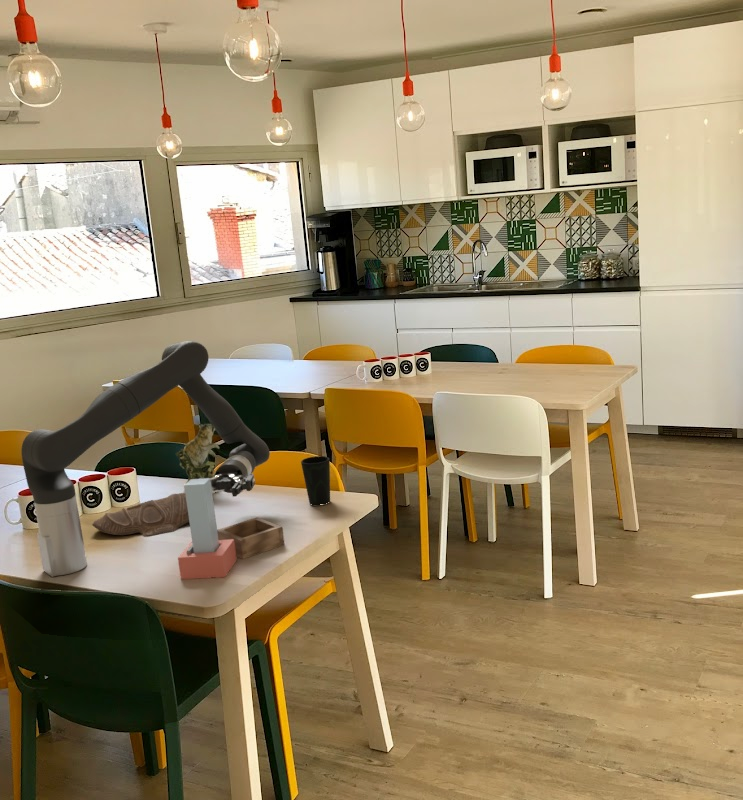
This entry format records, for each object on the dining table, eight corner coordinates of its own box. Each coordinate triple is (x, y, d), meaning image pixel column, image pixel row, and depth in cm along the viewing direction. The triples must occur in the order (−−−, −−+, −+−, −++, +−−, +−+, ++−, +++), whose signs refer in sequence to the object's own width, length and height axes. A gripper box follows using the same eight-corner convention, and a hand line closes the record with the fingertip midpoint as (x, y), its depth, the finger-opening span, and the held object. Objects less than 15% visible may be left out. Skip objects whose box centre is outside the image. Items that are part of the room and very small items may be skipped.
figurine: (231, 489, 267) (222, 423, 263) (187, 500, 260) (177, 432, 256) (217, 481, 277) (209, 417, 273) (174, 491, 270) (165, 426, 266)
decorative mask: (85, 507, 247) (193, 476, 257) (91, 529, 248) (198, 498, 259) (95, 530, 226) (212, 496, 236) (102, 555, 227) (218, 519, 238)
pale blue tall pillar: (216, 570, 202) (204, 484, 198) (196, 571, 203) (184, 485, 199) (221, 563, 206) (210, 478, 203) (202, 563, 207) (190, 479, 203)
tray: (242, 559, 209) (240, 540, 208) (218, 548, 218) (216, 530, 217) (284, 544, 216) (282, 526, 215) (259, 534, 225) (257, 517, 224)
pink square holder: (225, 577, 199) (221, 552, 198) (180, 579, 200) (177, 554, 199) (236, 559, 209) (233, 535, 208) (194, 562, 210) (191, 538, 209)
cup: (302, 501, 248) (298, 459, 246) (329, 496, 250) (325, 454, 248) (309, 509, 241) (304, 465, 239) (337, 504, 243) (332, 460, 241)
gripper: (204, 461, 229) (184, 480, 213) (259, 456, 227) (243, 476, 211) (208, 489, 230) (188, 511, 215) (263, 485, 228) (247, 507, 213)
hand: (216, 493), depth 213 cm, fingers open, 8 cm apart
